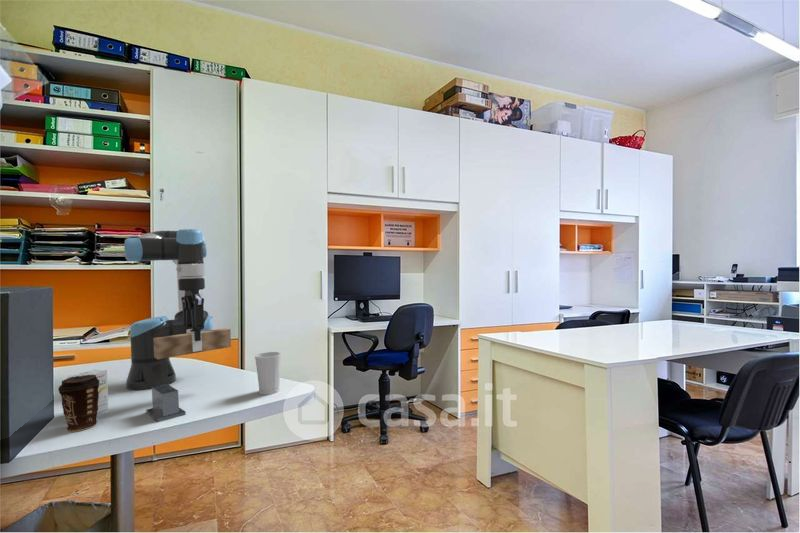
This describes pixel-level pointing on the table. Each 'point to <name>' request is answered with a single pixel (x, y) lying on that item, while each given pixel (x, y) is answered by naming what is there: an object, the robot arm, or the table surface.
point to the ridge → (165, 403)
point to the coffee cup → (80, 401)
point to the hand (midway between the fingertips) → (194, 349)
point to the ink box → (102, 388)
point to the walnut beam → (190, 343)
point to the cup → (268, 372)
